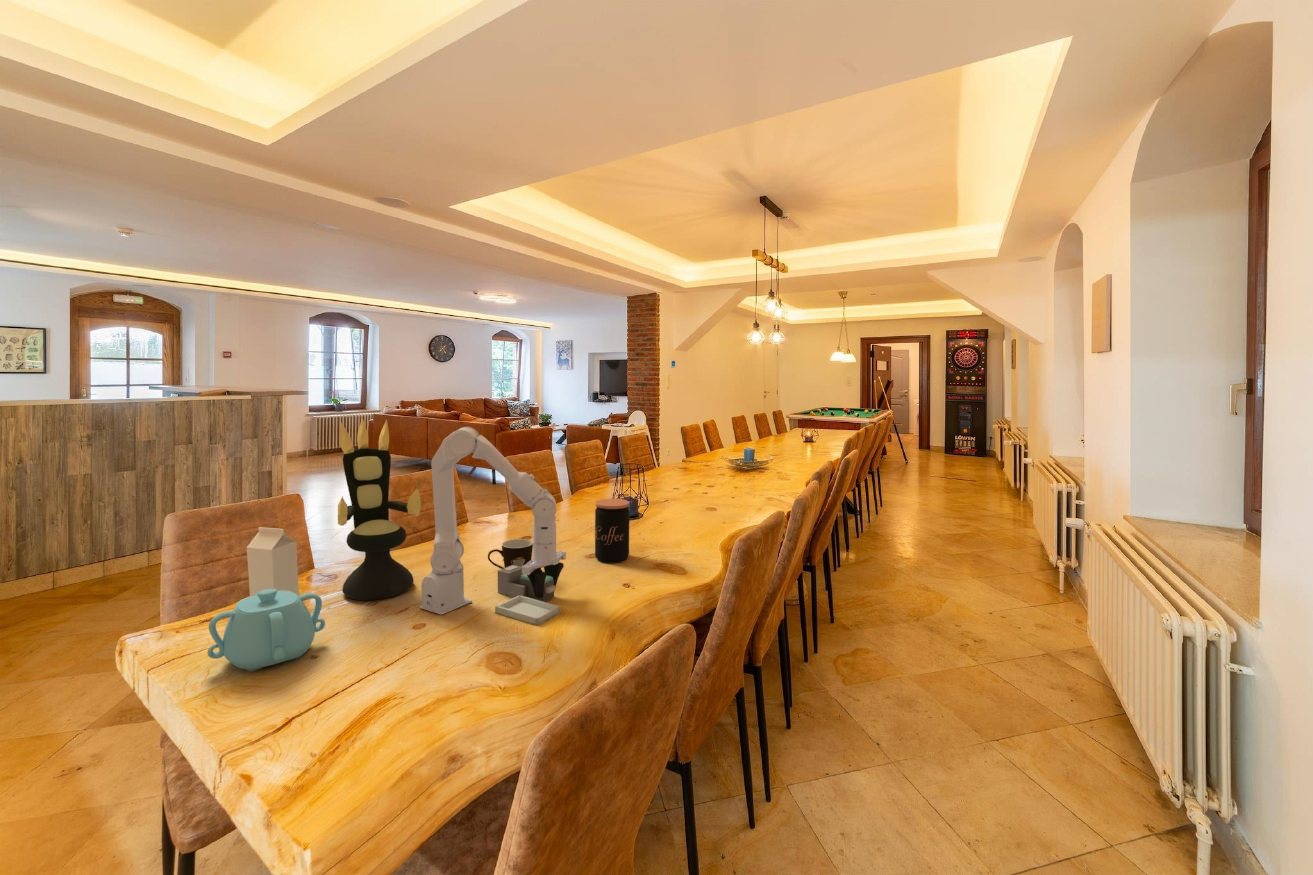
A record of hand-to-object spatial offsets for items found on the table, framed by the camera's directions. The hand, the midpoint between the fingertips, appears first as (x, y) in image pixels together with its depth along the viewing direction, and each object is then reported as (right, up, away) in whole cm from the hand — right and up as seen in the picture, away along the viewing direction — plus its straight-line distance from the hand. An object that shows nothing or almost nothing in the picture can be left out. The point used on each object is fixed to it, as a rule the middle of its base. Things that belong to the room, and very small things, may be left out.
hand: (545, 593), depth 143 cm
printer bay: (-7, -1, +4) cm, 9 cm away
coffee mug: (-12, 0, +15) cm, 19 cm away
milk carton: (-65, -1, -5) cm, 65 cm away
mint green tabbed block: (-2, -1, +1) cm, 3 cm away
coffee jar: (+14, +2, +33) cm, 36 cm away
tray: (-2, -2, -8) cm, 9 cm away
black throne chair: (-46, 0, +6) cm, 47 cm away
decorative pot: (-49, -4, -31) cm, 58 cm away
